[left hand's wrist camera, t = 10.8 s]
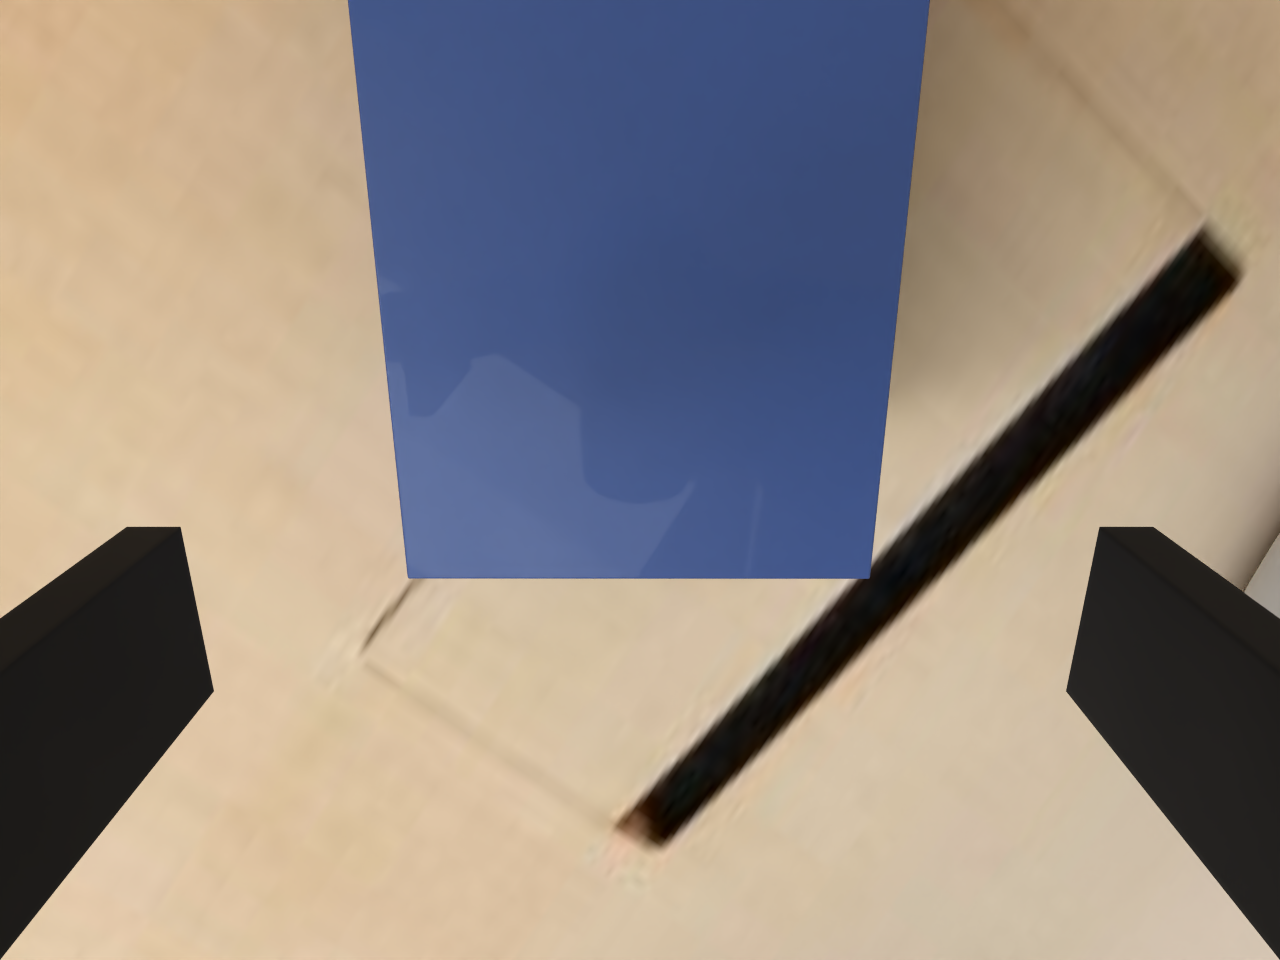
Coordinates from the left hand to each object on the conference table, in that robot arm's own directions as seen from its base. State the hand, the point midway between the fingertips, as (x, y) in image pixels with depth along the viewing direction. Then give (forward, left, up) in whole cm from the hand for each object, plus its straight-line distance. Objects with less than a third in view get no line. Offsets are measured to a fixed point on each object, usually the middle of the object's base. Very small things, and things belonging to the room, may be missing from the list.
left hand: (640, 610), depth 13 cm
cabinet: (+5, -1, -19) cm, 20 cm away
